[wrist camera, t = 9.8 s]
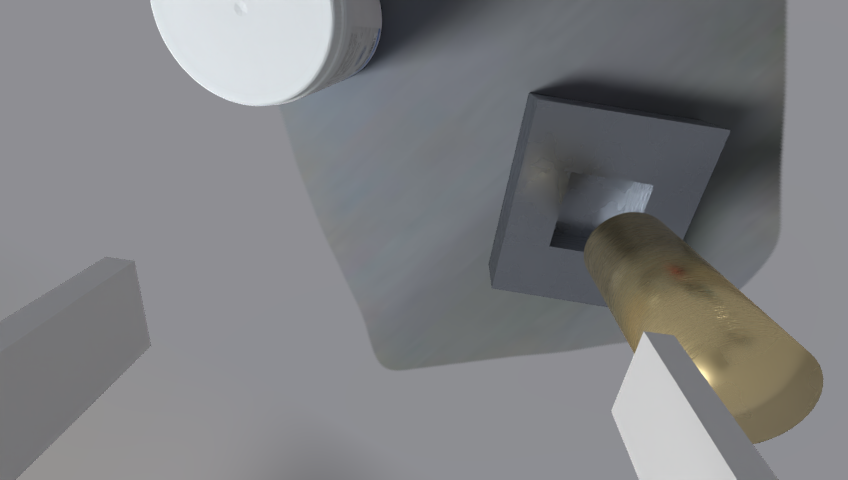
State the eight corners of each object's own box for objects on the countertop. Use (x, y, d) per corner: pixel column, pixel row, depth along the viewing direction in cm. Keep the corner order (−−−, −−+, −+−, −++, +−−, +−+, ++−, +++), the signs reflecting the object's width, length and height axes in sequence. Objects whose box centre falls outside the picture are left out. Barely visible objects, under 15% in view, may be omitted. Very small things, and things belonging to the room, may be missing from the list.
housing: (529, 92, 35) (538, 99, 31) (699, 120, 35) (730, 130, 31) (488, 264, 42) (491, 288, 38) (631, 287, 42) (650, 314, 38)
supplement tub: (250, -42, 33) (106, -99, 20) (371, -66, 32) (307, -144, 18) (284, 91, 37) (184, 120, 23) (394, 75, 36) (355, 95, 22)
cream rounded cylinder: (598, 205, 28) (702, 326, 16) (685, 219, 28) (853, 351, 16) (573, 280, 30) (647, 434, 18) (653, 293, 30) (779, 456, 18)
